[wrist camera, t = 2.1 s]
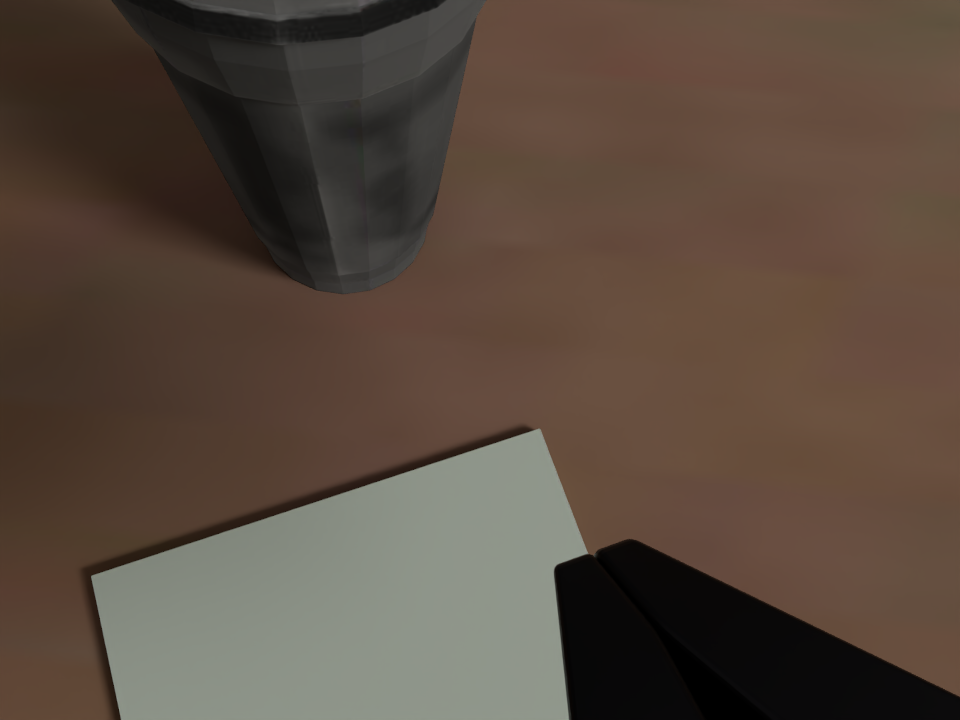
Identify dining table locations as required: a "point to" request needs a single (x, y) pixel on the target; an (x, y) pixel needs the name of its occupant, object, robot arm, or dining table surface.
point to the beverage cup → (321, 119)
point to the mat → (359, 604)
